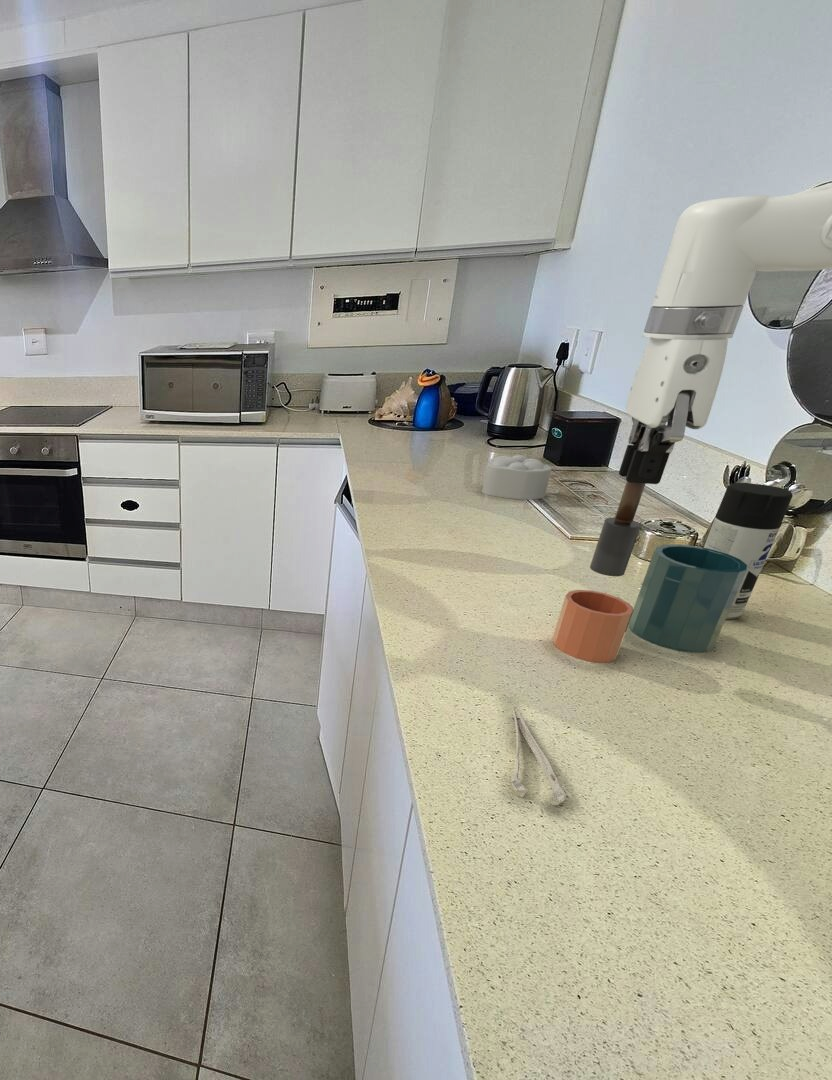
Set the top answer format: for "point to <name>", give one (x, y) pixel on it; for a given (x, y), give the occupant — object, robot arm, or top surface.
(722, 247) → the robot arm
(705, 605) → the teal faceted cup
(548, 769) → the forked grey bone
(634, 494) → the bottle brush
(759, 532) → the spray can
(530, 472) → the lumpy-topped squat cylinder
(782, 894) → the top surface
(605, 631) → the brush holder
